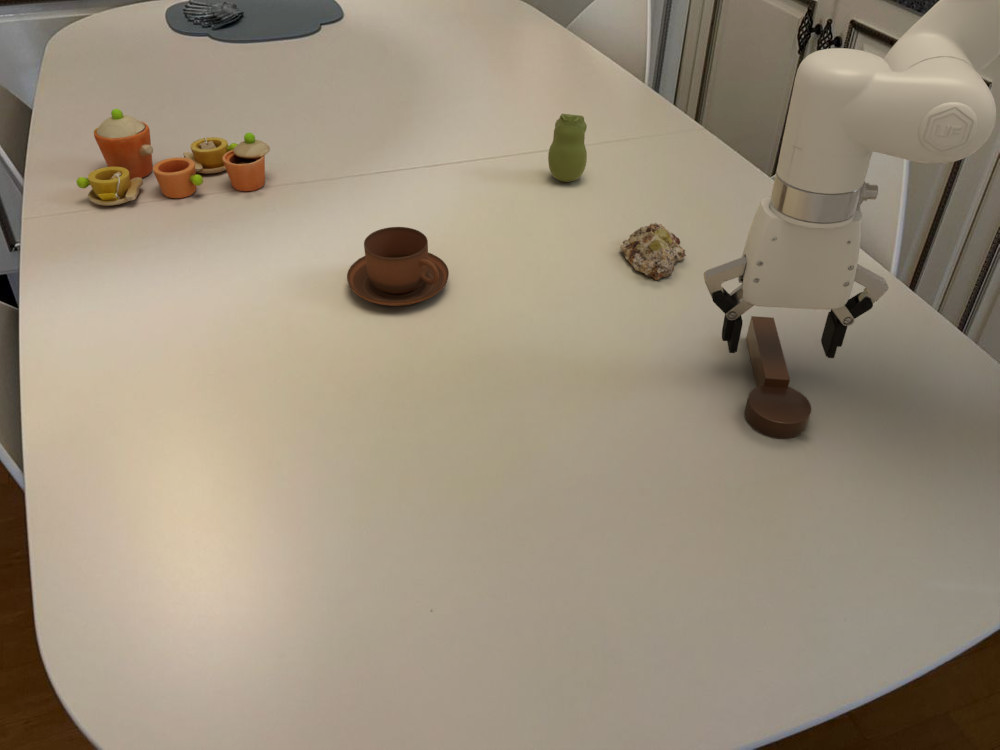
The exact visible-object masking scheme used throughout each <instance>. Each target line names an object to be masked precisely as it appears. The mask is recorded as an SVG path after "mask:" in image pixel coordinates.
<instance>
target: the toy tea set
mask: <svg viewBox="0 0 1000 750" xmlns="http://www.w3.org/2000/svg"><path fill="white" fill-rule="evenodd" d="M93 138H94V140H95V143H96V144H97V146H98V148H99V151H100V153H101V154H102V157H103V159H104V160H105V163H106V165H107V166H105V167H100V168H98V169H94V170H93V171H91V172H90V173H88V175H87V178H86V177H85V176H79V177H78V178H77V179H76V185H77V187H78V188H80V189H87V188H88V187H89V186H90V187H91V188H92V189H90V190H89V192H88V195H87V197H88V200H89V201H90V202H91V203H92V204H95V205H98V206H118V205H122V204H125V203H129V202H131V201H134V200H136V199H137V198H138V197H137V196H138V195H139V194H140V188H141V187H143V185H144V179H143V178H145V177H147V176H149V175H151V173H152V172H153V174H154V176H155V179H156V181H157V183H158V185H159V188H160V190H161V193H162V194H163V195H164V196H165V197H167V198H169V199H182V198H187V197H189V196H191V195H194V193H195V192H196V191H197V186H198V187H199V186H201V185H203V183H204V177H203V176H202V175H200V174H216V173H217V174H218V173H222V172H224V171H226V173H227V175H228V178H229V181H230V183H231V184H230V185H231V186H232V187H233V189H235V190H236V191H239V192H252V191H253V192H254V191H257V190H259V189H261V188H262V187H263V186H264V185H265V183H266V163H265V162H266V155H268V153H269V152H271V151H270V150H271V148H270V145H269V144H267V143H266V142H264V141H263V140H260V139H256V135H254V133H252V132H246V133H245V134H244V136H243V139H244V140H242V141H241V142H239V143H236V142H232V143H230V144H229V143H228V140H227V139H225V138H222V137H215V136H211V137H206V136H203V137H202V138H200V139H197V140H195V141H193V142H192V143H191V144H190V146H189V148H190V150H191V151H184V152H183V157H181V156H179V157H171V158H170V157H169V158H166V159H162V160H160V161H157V162H156V163H155V164H154V165H153V153H154V148H153V146H152V142H151V141H152V140H151V130H150V127H149V125H148V124H147V123H146V122H144V121H141V120H140V119H138V118H136V117H133V116H131V115H126V114H123V111H122V110H121V109H119V108H114V109H112V110H111V116H109V117H108V118H106V119H104V121H102V122H101V123H100V124H99V126H98V127H96V128H95V129H94V130H93ZM196 173H199V174H196Z"/></svg>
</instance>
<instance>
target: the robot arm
mask: <svg viewBox="0 0 1000 750" xmlns="http://www.w3.org/2000/svg"><path fill="white" fill-rule="evenodd" d="M999 56H1000V0H938V1H937V2H936V3H935V4H934V5H933V6H932V7H931V8H930V9H929V10H928V11H927V12H925V14H923V15H922V16H921V17H920V18H919V19H918V20H917V21H916V22H915V23H914V24H913V25H912V26H910V28H909V29H908V30H906V32H904V33H903V34H902V36H901V37H900V38H898V40H897V41H896V42H895V43H894V44H893V46H891V48H890V49H889V50H888V52H887V53H886V55H885V57H884V58H882V57H881V56H879V55H877V54H874V53H871V52H868V51H866V50H860V49H856V48H855V49H854V48H846V47H845V48H844V47H833V48H825V49H819V50H816V51H813V52H811V53H810V54H808V55H807V56H805V58H803V59H802V61H801V62H800V64H798V65H799V66H798V67H797V69H796V74H795V78H794V83H793V88H792V92H791V97H790V102H789V107H788V110H787V111H788V112H787V115H786V121H785V125H784V126H785V127H784V131H783V136H782V140H781V145H780V151H779V155H778V162H777V166H776V170H775V175H774V180H773V185H772V186H773V187H772V189H771V195H770V196H768V195H767V196H765V197H763V198H762V199H761V200H760V202H759V204H758V206H757V209H756V211H755V214H754V216H753V219H752V221H751V225H750V227H749V230H748V234H747V237H746V239H745V244H744V246H743V251H742V255H741V257H739V258H737V259H734V260H731V261H729V262H726V263H722V264H721V265H718V266H715V267H712V268H710V269H707V270H705V271H704V272H703V279H704V284H705V286H706V289H707V291H708V292H709V294H710V297H711V299H712V302H713V303H714V305H716V306H717V307H718V308H719V309H720V310H721V311H722V312H723V314H724V317H723V323H722V329H721V340H722V341H723V342H726V343H727V348H728V352H729V354H736V353H737V352H738V350H739V349H738V348H739V343H740V339H741V332H742V329H743V317H742V316H743V315H744V314H745V313H747V311H749V310H750V309H752V308H753V307H754V306H755V307H763V308H764V307H765V308H782V309H783V308H784V309H801V310H802V309H805V310H829V311H828V312H827V316H826V321H825V324H824V327H823V332H822V334H821V339H820V342H821V343H820V344H821V346H822V350H823V352H824V355H825V357H826V358H827V359H835V357H836V352H837V349H838V348H841V347H842V346H843V343H844V339H845V336H846V333H847V330H848V327H850V326H852V325H853V324H854V323H855V319H857V318H858V317H860V316H862V315H863V314H866V313H867V312H869V311H870V310H871V309H873V306H874V303H876V302H878V301H879V299H881V298H882V297H883V296H884V295H885V294H886V293H887V291H888V290H889V285H888V283H887V281H886V279H885V278H884V277H883V276H881V275H879V274H878V273H875V272H873V271H871V270H870V269H868V268H866V267H864V266H863V265H861V264H859V257H860V256H859V255H860V249H861V241H862V240H861V239H862V229H863V213H862V209H861V205H862V204H863V203H864V202H867V201H868V200H876V199H877V197H878V195H879V194H878V193H879V186H878V184H871V183H870V182H866V177H867V174H868V169H869V166H870V163H871V159H872V157H873V156H872V155H873V152H874V153H878V154H882V155H886V156H890V157H894V158H899V159H903V160H906V161H911V162H915V163H920V164H928V165H930V164H931V165H941V164H942V165H943V164H949V163H954V162H958V161H960V160H963V159H966V158H967V157H970V156H971V155H973V154H974V153H975V152H977V151H978V150H980V149H981V147H983V146H984V145H985V143H987V141H988V140H989V138H990V136H991V135H992V134H993V131H994V129H995V125H996V122H997V106H996V101H995V98H994V96H993V93H992V91H991V89H990V87H989V86H988V85H987V83H986V82H985V81H984V79H983V78H982V76H981V75H980V74H979V73H981V72H982V71H983V70H984V69H985V68H987V67H988V66H989V65H990V64H991V63H992V62H993V61H995V60H996V59H997V58H998V57H999ZM737 278H738V283H740V285H738V286H737V287H736V288H735V289H734V290H733V291H731V292H730V293H729V292H728V291H727V290H726V289H725V288H724V287H723V286H722V284H724V283H726V282H728V281H731V280H734V279H737ZM855 282H856V283H857V284H859V285H861V286H862V287H864V288H863V291H860V292H858V293H857V294H855V295H854V296H852V297H851V294H852V291H853V288H854V283H855Z"/></svg>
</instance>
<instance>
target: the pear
mask: <svg viewBox="0 0 1000 750" xmlns="http://www.w3.org/2000/svg"><path fill="white" fill-rule="evenodd" d="M586 131H587V123H586V122H585V118H584V116H583V115H579V114H576V115H575V114H569V113H561V114H560V116H559V117H558V119H557V120H556V121H555V124H554V129H553V135H552V136H553V138H552V142H551V144H550V146H549V149H548V153H547V155H548V156H547V161H548V168H549V171H550V173H551V175H552V176H553V177H554V178H555V179H556V180H558V181H560V182H563V183H564V182H565V183H570V182H574V181H576V180H578V179H579V178H581V176H583V174H584V172H585V169H586V167H587V162H588V161H587V159H588V154H587V153H588V152H587V148H586V144H585V139H586V135H585V134H586Z"/></svg>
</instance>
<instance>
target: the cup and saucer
mask: <svg viewBox="0 0 1000 750" xmlns="http://www.w3.org/2000/svg"><path fill="white" fill-rule="evenodd" d="M363 249H364V250H363V251H364V256H361V257H360V258H358V259H357V260H356V261H354V262H353V264H351V265H350V266H349V268H348V270H347V273H346V280H347V284H348V286H349V288H350V289H351V291H352V292H353V293H354V294H356V295H357V296H359V297H360V298H362V299H363V300H366V301H367V302H370V303H372V304H377V305H380V306H381V305H382V306H387V307H388V306H389V307H402V306H410V305H415V304H418V303H422V302H425V301H426V300H428V299H429V300H430V299H431V298H433V297H434V296H435V295H437V294H438V293H439V292H440V291H442V290H443V289H444V287H445V286H446V285H447V283H448V280H449V275H450V274H449V273H450V272H449V268H448V265H447V264H446V263H445V261H444V260H443V259H442V258H440V257H439V256H437V255H436V254H433V253H431V252H429V241H428V238H427V236H426V235H425V234H424V233H423V232H421V231H420V230H418V229H415V228H411V227H407V226H406V227H405V226H390V227H384V228H380V229H378V230H374V231H372V232H371V233H370V234H368V235H367V237H366V238H365V239H364V241H363Z"/></svg>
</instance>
